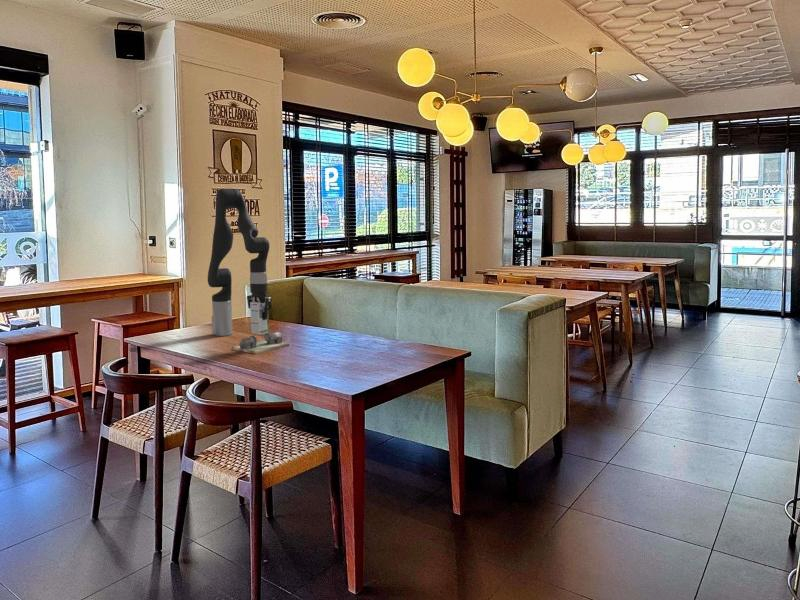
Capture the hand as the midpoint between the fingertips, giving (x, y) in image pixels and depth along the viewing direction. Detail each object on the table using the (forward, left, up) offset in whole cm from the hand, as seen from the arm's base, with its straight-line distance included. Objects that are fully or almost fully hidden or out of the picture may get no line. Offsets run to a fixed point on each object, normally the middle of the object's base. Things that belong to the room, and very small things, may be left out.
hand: (259, 318), depth 282 cm
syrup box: (0, 0, -7) cm, 7 cm away
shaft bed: (0, 0, -13) cm, 13 cm away
